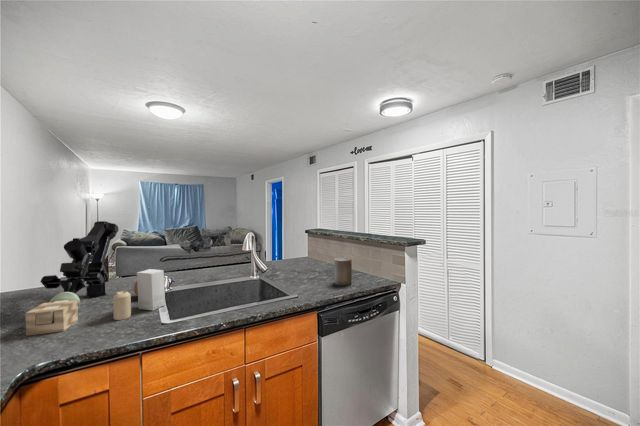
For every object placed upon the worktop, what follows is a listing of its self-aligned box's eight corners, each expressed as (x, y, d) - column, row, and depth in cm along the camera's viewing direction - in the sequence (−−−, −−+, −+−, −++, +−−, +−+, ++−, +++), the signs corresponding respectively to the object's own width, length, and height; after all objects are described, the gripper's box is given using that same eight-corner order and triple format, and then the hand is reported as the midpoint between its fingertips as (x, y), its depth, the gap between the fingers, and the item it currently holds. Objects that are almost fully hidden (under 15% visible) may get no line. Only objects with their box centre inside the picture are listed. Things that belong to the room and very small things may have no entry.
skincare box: (165, 305, 119) (165, 269, 119) (151, 311, 113) (151, 273, 112) (151, 303, 122) (150, 268, 121) (136, 308, 116) (136, 271, 115)
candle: (112, 321, 103) (111, 294, 103) (115, 316, 108) (114, 290, 108) (130, 318, 106) (129, 292, 106) (132, 313, 111) (131, 288, 111)
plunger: (51, 316, 105) (50, 293, 105) (80, 313, 108) (80, 290, 108) (26, 333, 92) (25, 306, 91) (60, 329, 95) (60, 303, 94)
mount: (44, 323, 102) (43, 302, 101) (78, 319, 105) (77, 299, 105) (26, 335, 92) (25, 313, 92) (63, 331, 95) (63, 309, 95)
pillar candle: (355, 283, 154) (355, 256, 154) (343, 287, 147) (343, 258, 147) (342, 280, 161) (342, 254, 161) (330, 283, 154) (330, 256, 154)
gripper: (42, 255, 108) (24, 292, 98) (100, 252, 114) (88, 287, 104) (54, 271, 116) (38, 306, 106) (108, 267, 122) (98, 300, 112)
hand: (66, 299), depth 107 cm, fingers closed, pressing on plunger
